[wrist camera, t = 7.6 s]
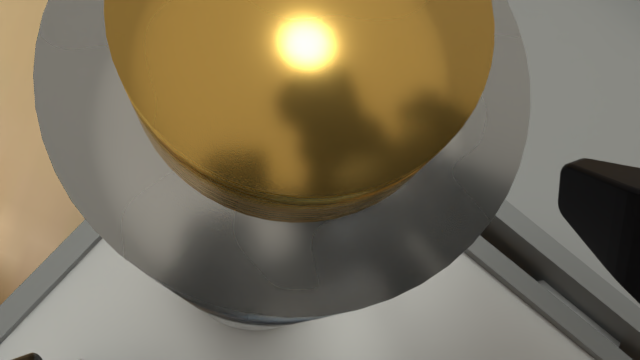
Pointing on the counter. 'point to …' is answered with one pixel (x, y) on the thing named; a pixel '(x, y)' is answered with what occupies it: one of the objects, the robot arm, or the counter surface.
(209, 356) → the lid
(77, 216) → the counter surface
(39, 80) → the grey cylinder
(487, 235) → the case
